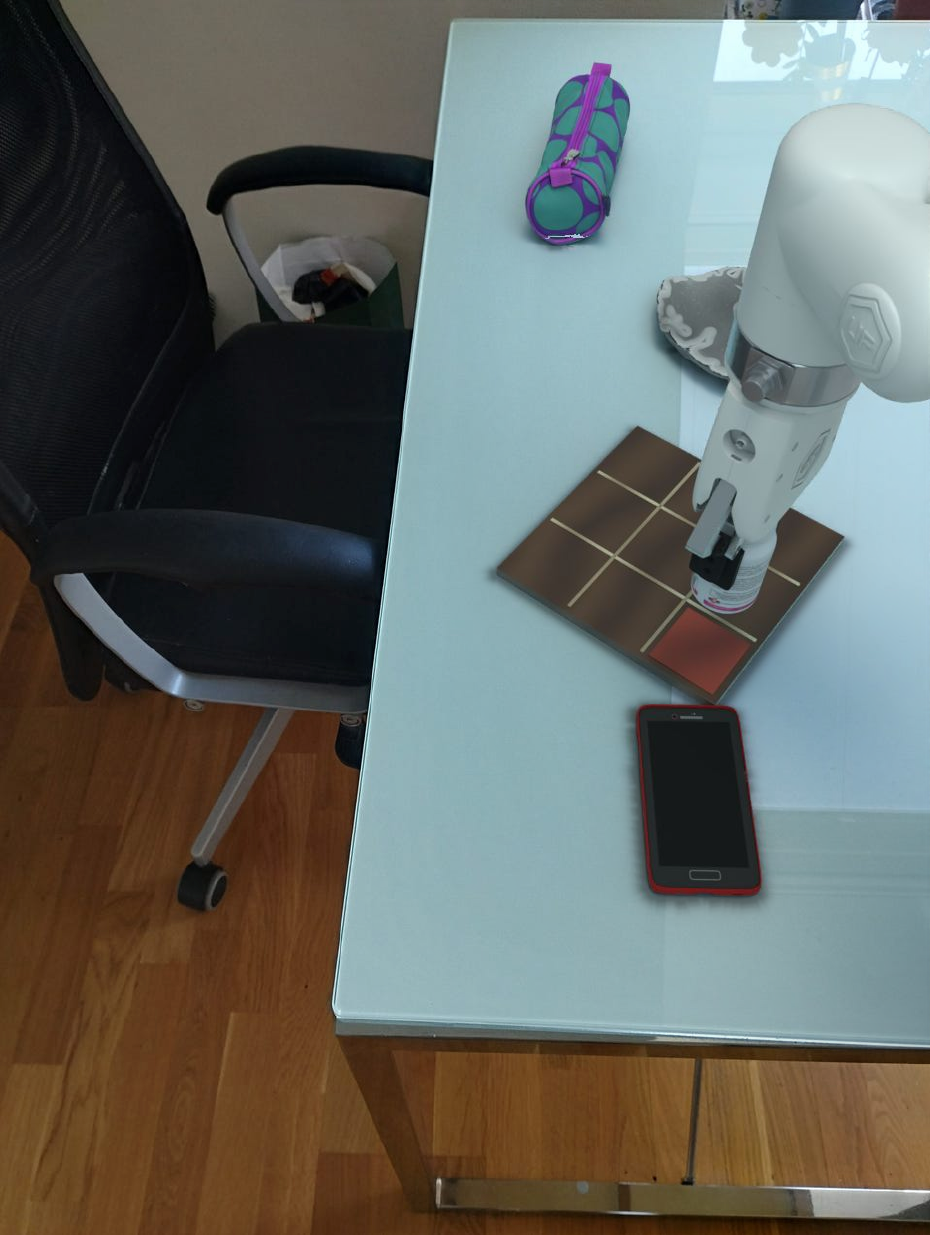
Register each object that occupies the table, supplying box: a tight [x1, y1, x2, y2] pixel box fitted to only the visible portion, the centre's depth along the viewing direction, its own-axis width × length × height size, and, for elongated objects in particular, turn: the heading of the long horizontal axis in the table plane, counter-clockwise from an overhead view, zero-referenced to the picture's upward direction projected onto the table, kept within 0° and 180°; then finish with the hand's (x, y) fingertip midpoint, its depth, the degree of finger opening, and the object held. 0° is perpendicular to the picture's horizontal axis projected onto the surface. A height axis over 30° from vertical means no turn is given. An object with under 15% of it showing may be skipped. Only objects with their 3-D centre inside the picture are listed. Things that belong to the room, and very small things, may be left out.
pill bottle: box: [691, 521, 778, 614], centre depth 72 cm, size 5×5×8 cm
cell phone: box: [635, 703, 763, 897], centre depth 76 cm, size 8×15×1 cm, turn 179°
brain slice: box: [656, 266, 747, 382], centre depth 103 cm, size 20×17×3 cm
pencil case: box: [524, 61, 631, 246], centre depth 115 cm, size 21×9×10 cm, turn 168°
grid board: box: [496, 425, 845, 705], centre depth 89 cm, size 21×21×1 cm
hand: (732, 550), depth 73 cm, fingers closed on pill bottle, 4 cm apart
